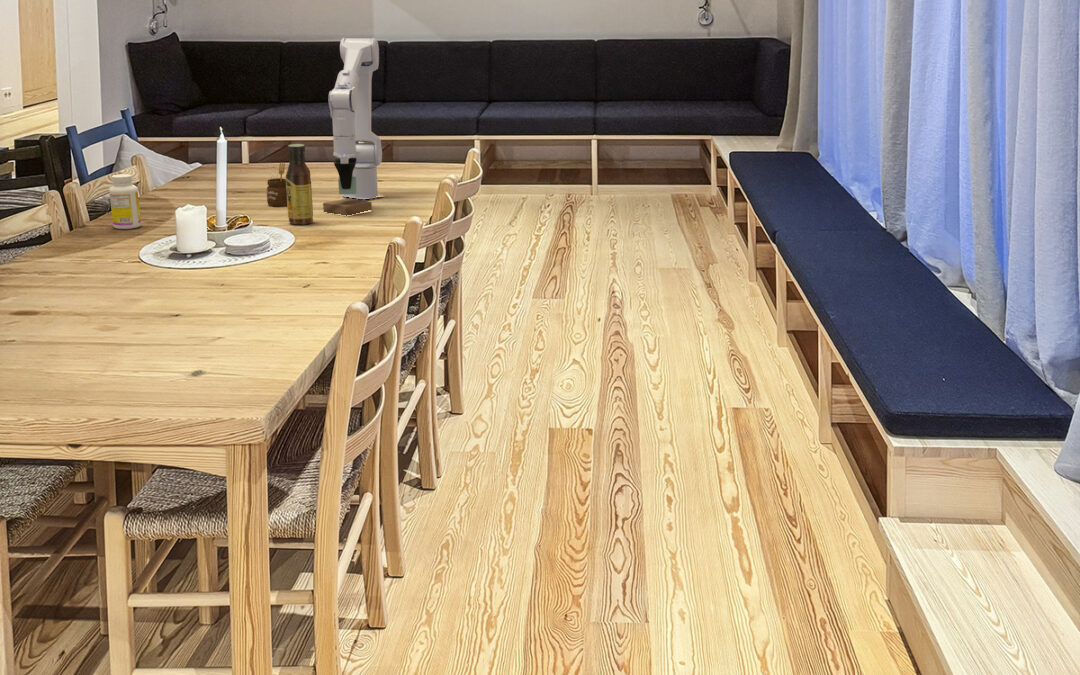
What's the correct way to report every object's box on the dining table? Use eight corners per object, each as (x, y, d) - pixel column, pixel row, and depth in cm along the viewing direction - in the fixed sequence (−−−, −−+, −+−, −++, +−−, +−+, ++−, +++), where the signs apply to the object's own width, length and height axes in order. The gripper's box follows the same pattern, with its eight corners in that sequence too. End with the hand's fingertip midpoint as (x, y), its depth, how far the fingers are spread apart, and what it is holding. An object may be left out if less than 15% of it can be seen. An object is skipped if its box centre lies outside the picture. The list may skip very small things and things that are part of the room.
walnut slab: (323, 214, 296) (323, 202, 295) (348, 209, 303) (348, 198, 302) (347, 218, 290) (346, 206, 290) (371, 213, 297) (371, 202, 296)
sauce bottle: (290, 220, 284) (285, 142, 278) (314, 220, 285) (310, 142, 279) (286, 226, 278) (281, 146, 272) (312, 225, 279) (307, 146, 273)
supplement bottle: (130, 223, 280) (125, 172, 277) (147, 226, 277) (142, 175, 273) (107, 227, 275) (101, 176, 271) (124, 230, 272) (118, 178, 268)
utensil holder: (281, 202, 309) (279, 159, 306) (294, 205, 305) (291, 161, 302) (263, 205, 305) (260, 161, 302) (275, 208, 301) (272, 163, 298)
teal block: (339, 194, 292) (338, 179, 291) (339, 191, 297) (338, 176, 296) (356, 194, 293) (355, 179, 292) (356, 191, 297) (356, 176, 296)
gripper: (359, 138, 284) (361, 191, 288) (360, 132, 298) (362, 182, 302) (331, 139, 283) (333, 192, 287) (333, 132, 297) (336, 182, 301)
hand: (346, 187), depth 294 cm, fingers closed on teal block, 4 cm apart
